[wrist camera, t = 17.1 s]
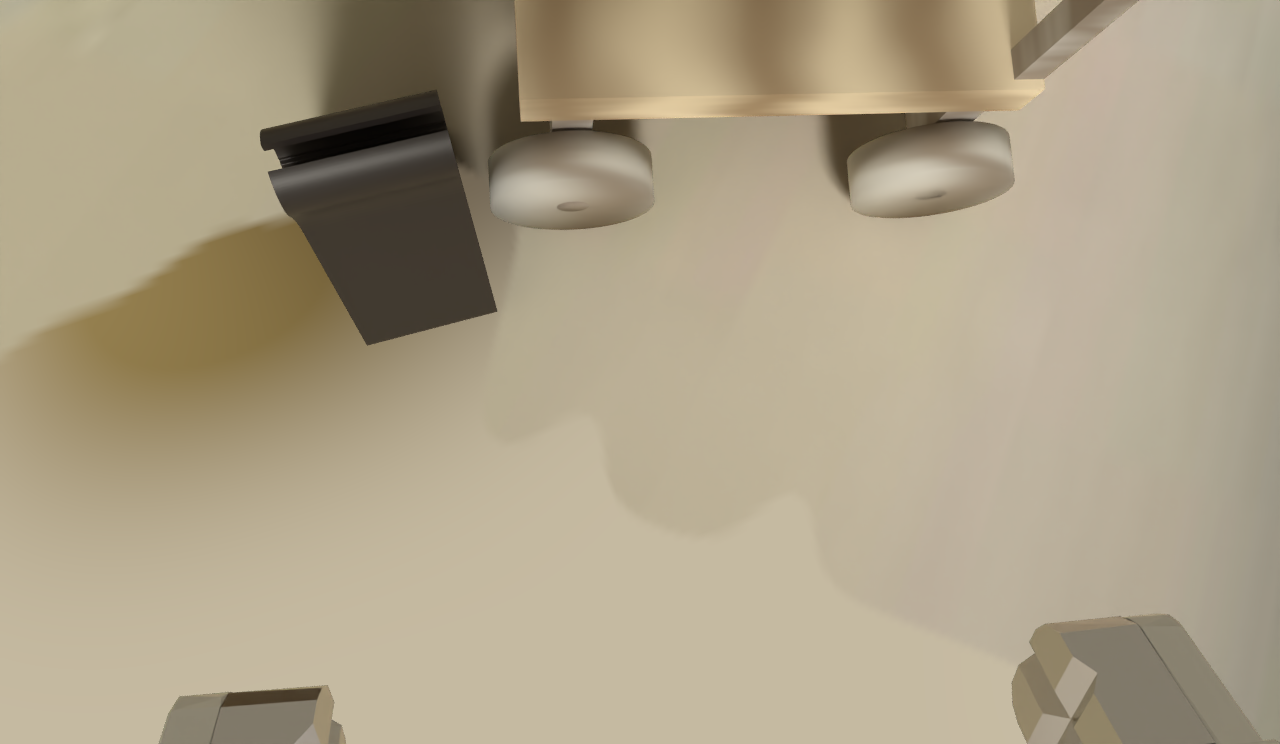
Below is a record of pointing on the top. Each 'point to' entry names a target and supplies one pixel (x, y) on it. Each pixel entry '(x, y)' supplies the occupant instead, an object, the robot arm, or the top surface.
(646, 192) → the wheeled trolley
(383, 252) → the door stopper
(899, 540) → the top surface
